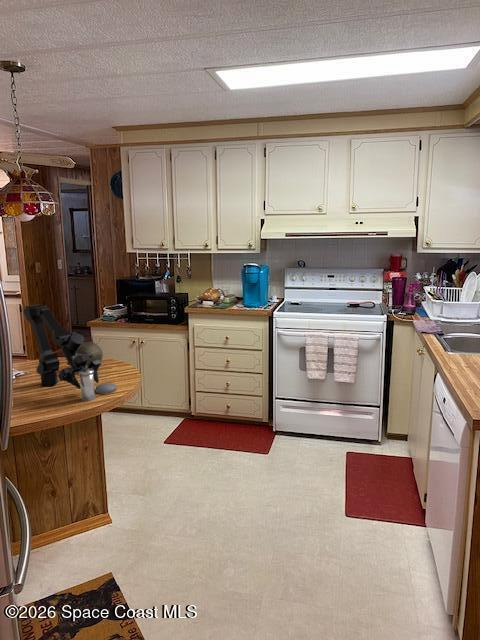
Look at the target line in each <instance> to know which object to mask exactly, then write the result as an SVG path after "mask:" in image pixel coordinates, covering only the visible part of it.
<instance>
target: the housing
mask: <svg viewBox="0 0 480 640" xmlns="http://www.w3.org/2000/svg"><path fill="white" fill-rule="evenodd" d="M93 373H94V369H82V370H79V372H78V375H79V379H80V380H79V381H80V383H79V384H80V386H81V388H80V393H81V401H82V402H92V401H94V400H96V387H95V380H94V376H93Z"/></svg>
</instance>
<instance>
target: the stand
mask: <svg viewBox="0 0 480 640" xmlns="http://www.w3.org/2000/svg"><path fill="white" fill-rule="evenodd" d="M116 391H117V384H115V383H112V382H110V383H109V382H107V383H102V384H98V385H96V386H95V394H98V395H108V394H109V395H110V394H113V393H115V392H116Z"/></svg>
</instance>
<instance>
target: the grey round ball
mask: <svg viewBox="0 0 480 640" xmlns="http://www.w3.org/2000/svg"><path fill="white" fill-rule="evenodd" d="M77 351H78V353H79V354H85V352H87V351H90V352H91V353H92V355H93V357H92V358H90V360H88V361H87V364H85V365H89V364H90V362H91V361H93V360H97V359H98V360H100V362H101V363H102V361H103V356H104V354H103V350H102V348H101V347H100V345H98V344H97V343H95V342H93V341H87V342H83V344H82V345H81V347H80V349H79V350H77Z"/></svg>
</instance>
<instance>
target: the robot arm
mask: <svg viewBox="0 0 480 640" xmlns="http://www.w3.org/2000/svg"><path fill="white" fill-rule="evenodd" d="M23 315H24V316H25V318H26V319H25V320H26V321H27V322H29V323H30V324H31V326H32V329H33V334H34V337H35V339H36V343H37V345H38V349H39V352H40V354H39V358H38V366H37V367H36V373H37V374H39V375H40V381H41V383H40V385H39V387H55V386H56V385H57V384H58V383H59V381H61V382H62V381H63V382H66V383H68V384H70V385H72V386H74V387H75V388H77V389H79V390H81V383H79V381H78V379H77V377H76V375H75V374H77V373H79V370H82V369H94V373H93V376H94V382H95V383H96V384H99V381H100V380H99V374H98V373H99V372H98V370H99V368H100V367H101V365H102V361H101V362H100V360H98V359H97V360H93V361H91V362H90V364H89V365H85V364H87V361H88V360H90V358H92V357H93V355H92V353H91V352H90V351H87V352H85V354H79V353H78V351H77V350H79V349H80V347H81V345H82V344H83V343H85V342H84V341H85V338H84V335H82V334H80V333H77V332H76V331H71V333H70V332H69V331H68V330H67V329H65V328H63V327H62V326H61V325H60V323H59V321H57V319H56V317H55V316H54V315H53V312H51V309H50V307H49V306H46V305H41V304H40V303H37V304H31V305H26V306H25V307H24V309H23ZM45 326H46V327H45ZM46 328H47V329H48V330H49V332H50V333H51V340H52V343H53V345H54V346H55V347H56V348H61V349H60V350H61V352H60V355H61V356H64V358H65V359H66V361H67V363H66V364H67V366H70V367H65V368H61V370H60V359H59V356H58V354H57V352H53V351H52V349H51V344H50V341H49V338H48V334H47V331H46ZM57 372H59V374H58V373H57Z"/></svg>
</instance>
